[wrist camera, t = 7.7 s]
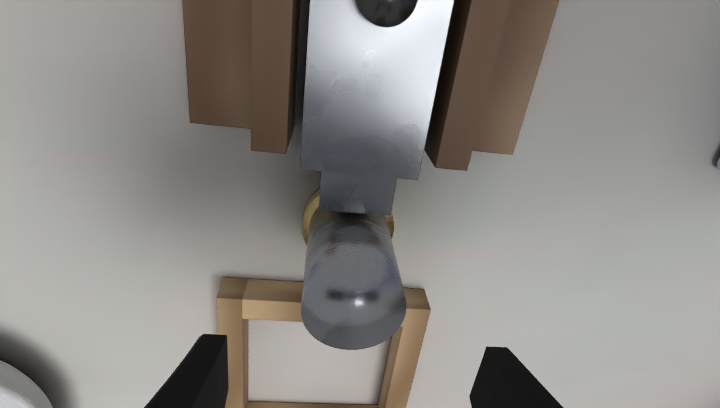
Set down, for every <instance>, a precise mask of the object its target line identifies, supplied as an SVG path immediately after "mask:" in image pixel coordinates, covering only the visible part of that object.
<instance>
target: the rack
mask: <svg viewBox="0 0 720 408" xmlns="http://www.w3.org/2000/svg"><path fill="white" fill-rule="evenodd" d="M403 290H404V294H405V298H406V305H407V309H406V315H405V318H404V321H403V323H402V324H401V326H400V328H399V329H398V330H397V331H396V332H395V333H394V334H393V335H392V340H391V345H390V349H389V354H388V359H387V364H386V369H385V373H384V378H383V383H382V388H381V393H380V397H379V402H378V405H352V404H317V403H282V402H248V319H255V320H275V321H295V322H303V321H302V317H301V302H302V292H303V282H292V281H275V280H258V279H242V278H225V277H224V279H223V282H222V285H221V287H220V290H219V292H218V295H217V298H216V303H217V327H218V335H227V346H228V383H229V390H228V394H227V399H226V404H225V408H406V405H407V401H408V397H409V393H410V389H411V386H412V382H413V378H414V374H415V370H416V366H417V362H418V358H419V354H420V350H421V346H422V342H423V338H424V334H425V330H426V326H427V322H428V318H429V314H430V310H431V309H430V306H429V303H428V300H427V297H426V294H425V290H424V289H407V288H403Z"/></svg>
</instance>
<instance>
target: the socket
mask: <svg viewBox="0 0 720 408" xmlns="http://www.w3.org/2000/svg"><path fill="white" fill-rule="evenodd" d="M182 2H183V18H184V35H185V51H186V67H187V83H188V99H189V115H190V123H198V124H208V125H218V126H228V127H238V128H248V129H251V151H261V152H272V153H283V154H286V152H287V149H288V145H289V142H290V139H291V135H292V132H293V128H294V120H295V101H296V82H297V63H298V44H299V25H300V6H301V0H182ZM558 3H559V0H454V2H453V7H452V12H451V17H450V22H449V27H448V32H447V37H446V42H445V47H444V52H443V57H442V62H441V67H440V72H439V77H438V82H437V87H436V92H435V97H434V102H433V107H432V112H431V117H430V122H429V127H428V132H427V137H426V142H425V147H424V150H425V152H426V153H427V155H428V156H429V158H430V160H431V161H432V163H433V165H434V166H435V168H443V169H453V170H464V171H467V169H468V165H469V161H470V157H471V153H472V151H479V152H490V153H500V154H510V155H513V152H514V149H515V145H516V142H517V139H518V135H519V132H520V129H521V125H522V122H523V119H524V115H525V112H526V109H527V105H528V102H529V99H530V96H531V92H532V89H533V86H534V82H535V79H536V76H537V72H538V69H539V66H540V62H541V59H542V56H543V52H544V49H545V46H546V42H547V39H548V36H549V33H550V29H551V26H552V23H553V19H554V16H555V13H556V9H557V6H558Z"/></svg>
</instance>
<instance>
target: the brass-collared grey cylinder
mask: <svg viewBox="0 0 720 408" xmlns="http://www.w3.org/2000/svg"><path fill="white" fill-rule="evenodd" d="M319 193H320V188H319V189H318V190H317V191H316V192H315V193H314V194H313V195H312V196H311V197H310V199H309V201H308V202H307V205H306V207H305V211H304V218H303V226H302V230H303V237H304V240H305V243H306V245H307V253H306V262H305V272H304V282H303V292H302V302H301V317H302V321H303V323H304V325H305V327H306V329H307V330H308V331H309V333H310V334H311V335H312V336H313V337H314V338H316V339H317V340H319V341H320V342H322V343H324V344H326V345H328V346H331V347H334V348H339V349H346V350H357V349H364V348H369V347H372V346H375V345H377V344H380V343H382V342H383V341H385V340H387V339H388V338H390V337H391V336H392V335H393V334H394V333H395V332H396V331H397V330H398V329H399V328H400V326H401V324H402V323H403V321H404V318H405V315H406V309H407V305H406V298H405V294H404V290H403V286H402V282H401V278H400V274H399V270H398V266H397V261H396V257H395V253H394V249H393V245H392V241H391V239H392V236H393V231H394V222H393V217H392V214H391V215H390V216H388V215H376V214H363V213H350V212H338V211H325V210H318V209H319Z"/></svg>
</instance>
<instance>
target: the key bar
mask: <svg viewBox="0 0 720 408" xmlns="http://www.w3.org/2000/svg"><path fill="white" fill-rule="evenodd" d="M453 2H454V0H310V11H309V27H308V43H307V60H306V76H305V92H304V108H303V125H302V141H301V157H300V169H303V170H314V171H321V178H320V193H319V209H318V210H325V211H338V212H350V213H363V214H376V215H388V216H390V215H391V209H392V204H393V198H394V192H395V187H396V181H397V178H403V179H414V180H418V177H419V172H420V167H421V162H422V157H423V152H424V147H425V142H426V137H427V132H428V127H429V122H430V117H431V112H432V107H433V102H434V97H435V92H436V87H437V82H438V77H439V72H440V67H441V62H442V57H443V52H444V47H445V42H446V37H447V32H448V27H449V22H450V17H451V12H452V7H453Z"/></svg>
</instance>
